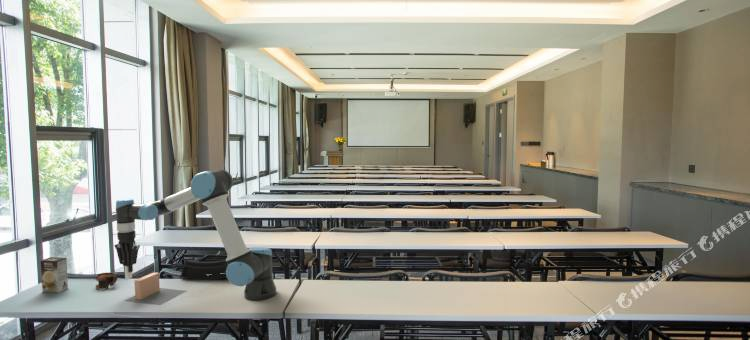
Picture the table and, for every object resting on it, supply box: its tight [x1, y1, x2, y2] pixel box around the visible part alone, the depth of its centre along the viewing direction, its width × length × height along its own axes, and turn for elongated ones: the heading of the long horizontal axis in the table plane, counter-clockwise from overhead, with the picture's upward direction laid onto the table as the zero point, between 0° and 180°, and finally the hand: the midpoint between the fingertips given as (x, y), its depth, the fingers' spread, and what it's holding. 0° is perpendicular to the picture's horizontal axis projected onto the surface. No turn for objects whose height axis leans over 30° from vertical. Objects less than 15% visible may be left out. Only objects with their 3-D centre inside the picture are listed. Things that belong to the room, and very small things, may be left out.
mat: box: [124, 287, 187, 306], centre depth 202 cm, size 20×18×1 cm
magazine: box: [180, 259, 228, 280], centre depth 227 cm, size 17×3×30 cm
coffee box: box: [40, 256, 69, 294], centre depth 210 cm, size 9×6×16 cm
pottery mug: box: [95, 272, 118, 290], centre depth 216 cm, size 12×10×8 cm
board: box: [133, 272, 161, 300], centre depth 203 cm, size 3×12×9 cm, turn 166°
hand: (128, 278), depth 205 cm, fingers closed
